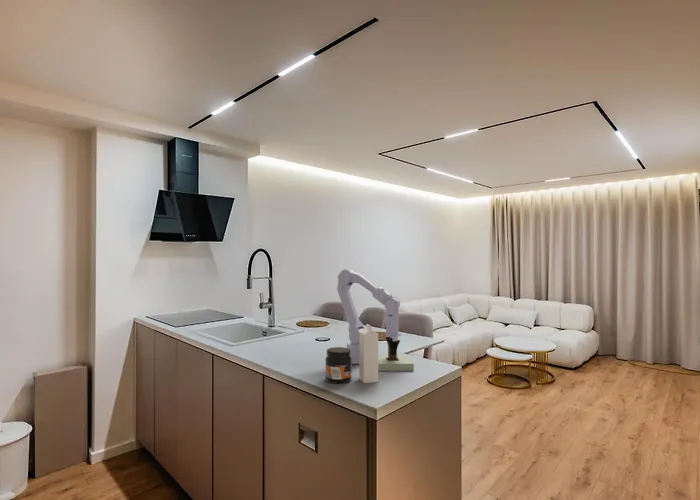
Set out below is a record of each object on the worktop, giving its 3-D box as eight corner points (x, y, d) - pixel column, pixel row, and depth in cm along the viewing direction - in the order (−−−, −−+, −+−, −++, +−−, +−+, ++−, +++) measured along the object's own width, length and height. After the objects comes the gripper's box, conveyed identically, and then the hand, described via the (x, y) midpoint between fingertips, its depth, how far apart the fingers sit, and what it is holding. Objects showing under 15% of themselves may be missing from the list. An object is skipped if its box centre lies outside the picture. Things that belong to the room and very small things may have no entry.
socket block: (377, 370, 161) (377, 363, 161) (372, 361, 176) (373, 354, 177) (413, 370, 161) (413, 363, 161) (406, 361, 177) (406, 354, 177)
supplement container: (334, 386, 140) (334, 354, 141) (320, 379, 149) (320, 348, 149) (356, 381, 147) (357, 350, 147) (341, 374, 155) (341, 345, 156)
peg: (388, 362, 167) (388, 340, 167) (387, 360, 171) (387, 338, 171) (397, 362, 167) (397, 340, 167) (396, 360, 171) (395, 338, 171)
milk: (363, 383, 144) (363, 326, 144) (359, 378, 149) (359, 323, 150) (378, 382, 145) (378, 325, 146) (373, 377, 151) (373, 323, 152)
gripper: (404, 326, 163) (404, 357, 162) (398, 321, 177) (398, 350, 177) (388, 326, 162) (388, 358, 162) (383, 321, 177) (383, 350, 176)
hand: (392, 354), depth 169 cm, fingers closed on peg, 4 cm apart
